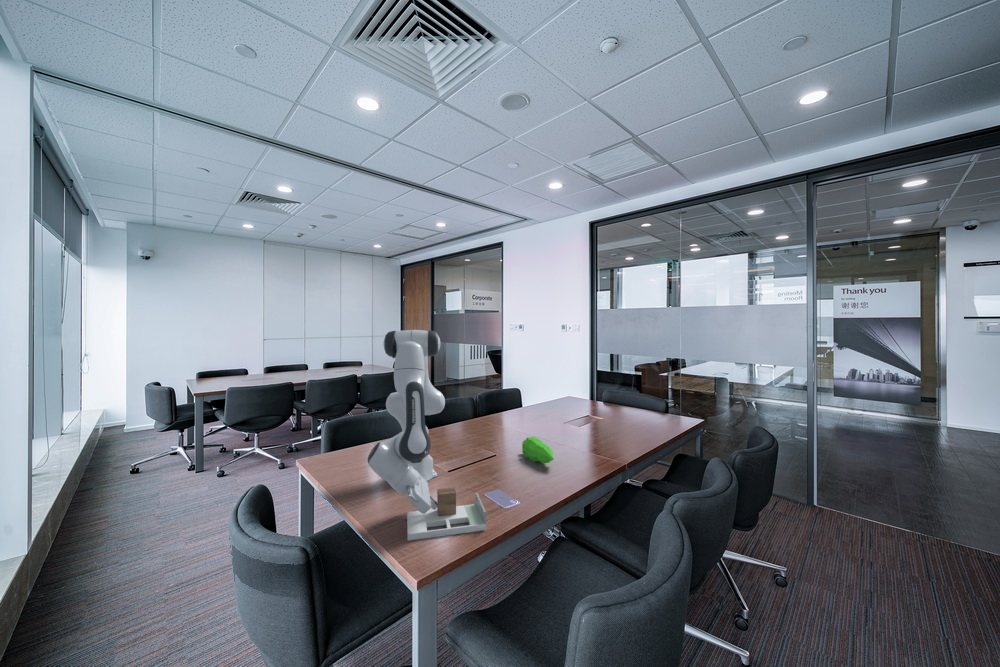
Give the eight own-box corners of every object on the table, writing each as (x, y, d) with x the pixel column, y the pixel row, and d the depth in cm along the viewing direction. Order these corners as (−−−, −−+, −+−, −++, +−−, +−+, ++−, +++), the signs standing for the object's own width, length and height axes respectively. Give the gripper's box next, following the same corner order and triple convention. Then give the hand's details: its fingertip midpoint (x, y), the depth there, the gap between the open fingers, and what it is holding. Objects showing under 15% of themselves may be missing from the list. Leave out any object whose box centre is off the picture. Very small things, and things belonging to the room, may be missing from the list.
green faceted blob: (530, 429, 202) (558, 442, 174) (538, 448, 203) (567, 464, 175) (513, 439, 198) (538, 454, 170) (520, 458, 199) (547, 476, 171)
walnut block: (437, 509, 131) (437, 488, 131) (454, 507, 133) (454, 486, 133) (438, 516, 126) (438, 494, 127) (456, 514, 128) (456, 492, 128)
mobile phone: (498, 488, 153) (521, 501, 141) (498, 490, 153) (521, 504, 141) (483, 492, 149) (504, 507, 136) (483, 495, 149) (504, 509, 136)
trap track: (407, 517, 130) (407, 500, 130) (477, 509, 136) (477, 492, 136) (407, 540, 115) (407, 521, 115) (486, 530, 121) (485, 511, 121)
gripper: (414, 486, 117) (445, 513, 119) (413, 464, 137) (439, 487, 139) (399, 501, 116) (431, 529, 118) (400, 477, 136) (427, 501, 138)
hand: (436, 506), depth 129 cm, fingers closed
